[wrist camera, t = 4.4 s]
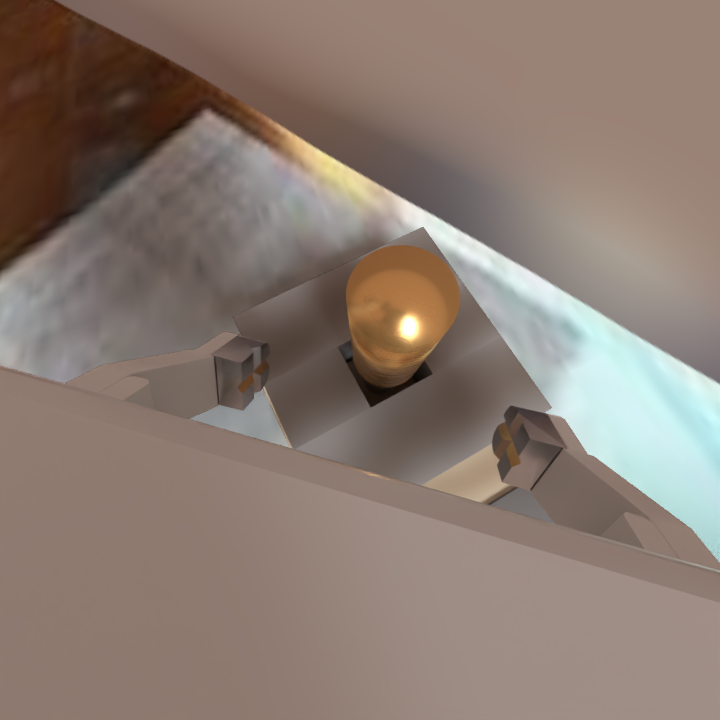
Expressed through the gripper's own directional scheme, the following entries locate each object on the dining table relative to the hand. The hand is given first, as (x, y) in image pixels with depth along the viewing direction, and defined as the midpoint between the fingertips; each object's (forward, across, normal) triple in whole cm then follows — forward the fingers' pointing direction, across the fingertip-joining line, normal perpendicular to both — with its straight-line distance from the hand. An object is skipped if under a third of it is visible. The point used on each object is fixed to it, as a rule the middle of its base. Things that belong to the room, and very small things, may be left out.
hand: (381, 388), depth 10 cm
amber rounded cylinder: (+8, 0, +4) cm, 9 cm away
